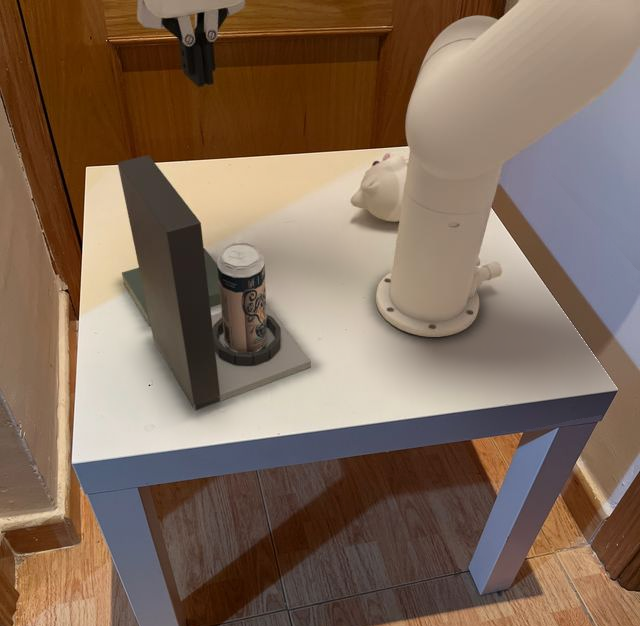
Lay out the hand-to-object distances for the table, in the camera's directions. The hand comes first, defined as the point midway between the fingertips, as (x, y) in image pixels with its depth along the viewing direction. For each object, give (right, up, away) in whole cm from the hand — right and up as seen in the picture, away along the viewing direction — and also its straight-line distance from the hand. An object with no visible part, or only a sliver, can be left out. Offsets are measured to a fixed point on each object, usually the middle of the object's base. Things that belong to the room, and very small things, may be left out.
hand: (200, 80), depth 71 cm
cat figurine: (+24, -5, +27) cm, 36 cm away
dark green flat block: (-5, -19, +14) cm, 24 cm away
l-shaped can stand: (+2, -27, +7) cm, 28 cm away
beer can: (+4, -26, +7) cm, 27 cm away
